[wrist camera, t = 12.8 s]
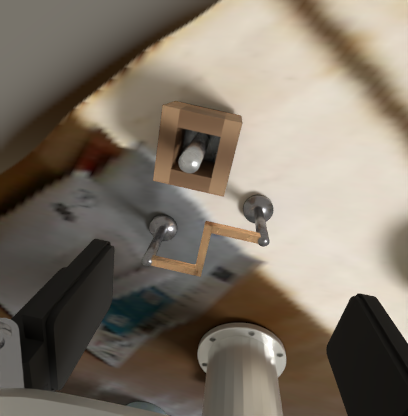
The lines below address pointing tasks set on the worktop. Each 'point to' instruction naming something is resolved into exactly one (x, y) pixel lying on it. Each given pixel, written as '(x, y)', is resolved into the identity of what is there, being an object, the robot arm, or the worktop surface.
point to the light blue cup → (146, 407)
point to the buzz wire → (208, 235)
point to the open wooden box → (173, 142)
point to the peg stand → (197, 150)
